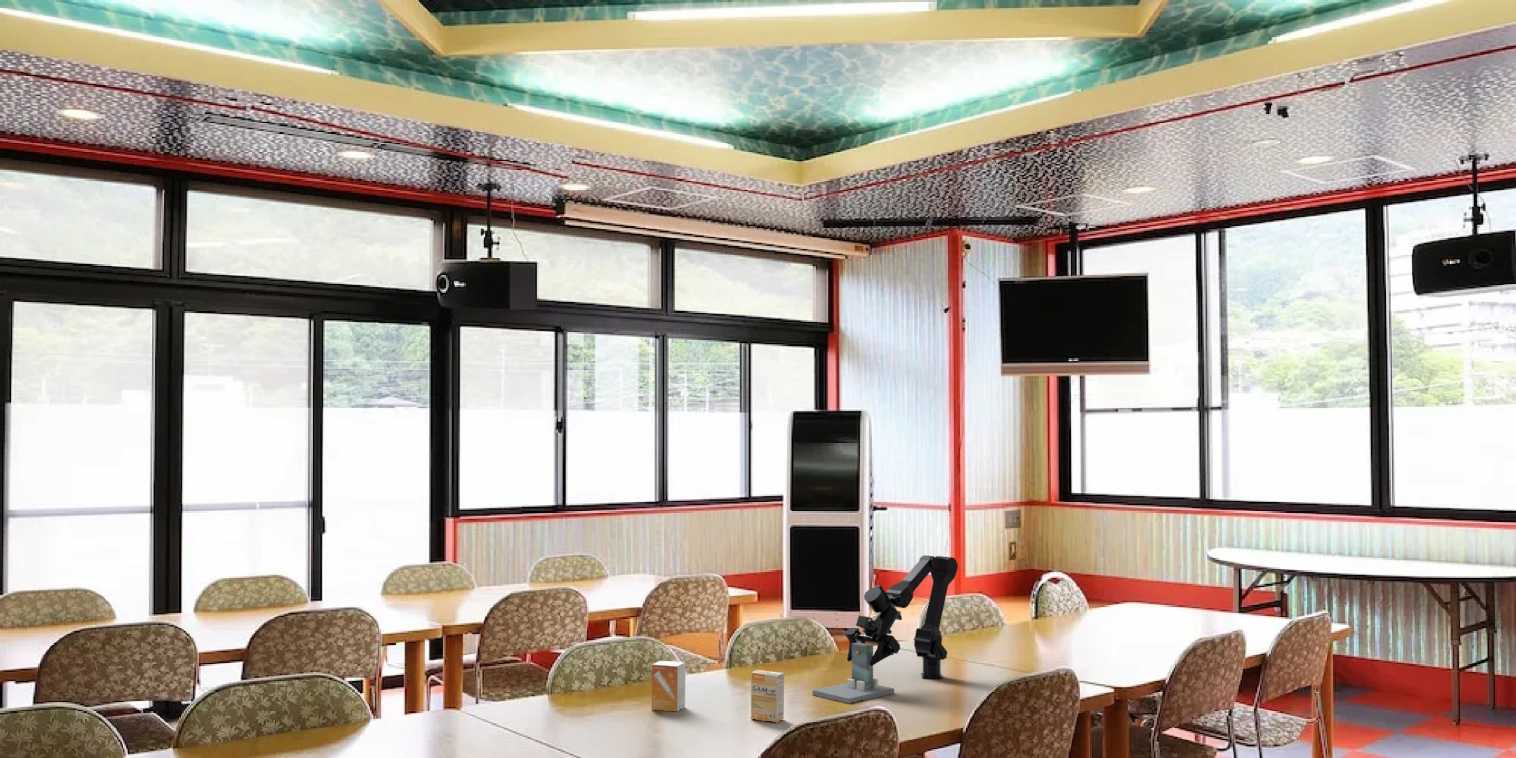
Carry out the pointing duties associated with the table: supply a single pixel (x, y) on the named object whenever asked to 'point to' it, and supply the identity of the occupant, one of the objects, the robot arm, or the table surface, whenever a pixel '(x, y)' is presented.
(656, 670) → the small box
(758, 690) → the supplement box
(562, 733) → the table surface
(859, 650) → the tall streaky grey pillar
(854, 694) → the base plate
